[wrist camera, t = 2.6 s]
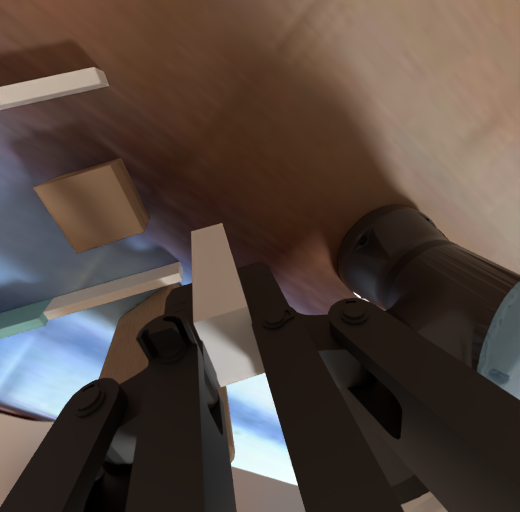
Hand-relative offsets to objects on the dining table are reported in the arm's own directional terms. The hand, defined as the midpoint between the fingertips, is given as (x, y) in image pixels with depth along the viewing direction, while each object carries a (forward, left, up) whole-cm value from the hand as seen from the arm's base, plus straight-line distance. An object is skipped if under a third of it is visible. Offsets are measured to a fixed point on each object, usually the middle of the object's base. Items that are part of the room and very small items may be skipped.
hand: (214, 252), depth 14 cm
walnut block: (+11, 0, -22) cm, 24 cm away
